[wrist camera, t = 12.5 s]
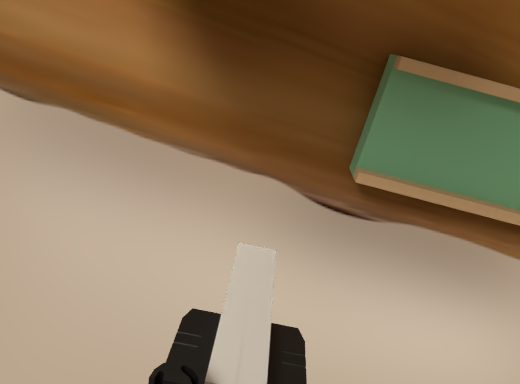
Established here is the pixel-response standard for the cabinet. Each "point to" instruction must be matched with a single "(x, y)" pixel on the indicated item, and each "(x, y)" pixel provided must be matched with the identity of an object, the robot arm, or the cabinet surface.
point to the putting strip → (443, 139)
